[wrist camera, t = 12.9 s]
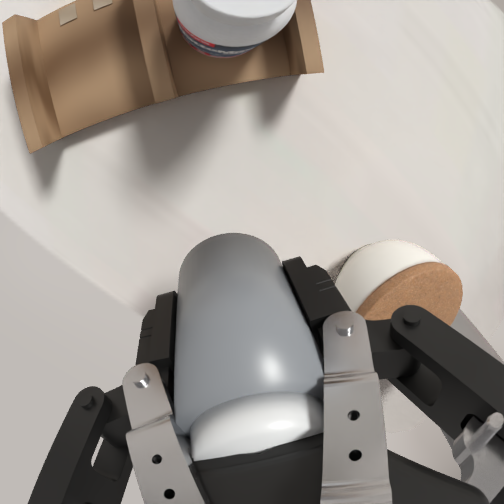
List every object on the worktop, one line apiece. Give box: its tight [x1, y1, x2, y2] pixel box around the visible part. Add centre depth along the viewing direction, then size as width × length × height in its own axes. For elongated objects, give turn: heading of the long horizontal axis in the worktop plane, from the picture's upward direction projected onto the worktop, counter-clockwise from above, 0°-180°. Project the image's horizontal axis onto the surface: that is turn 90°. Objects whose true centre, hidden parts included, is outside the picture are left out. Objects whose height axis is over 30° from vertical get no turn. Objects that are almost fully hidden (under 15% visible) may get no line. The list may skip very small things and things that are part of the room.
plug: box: [174, 233, 324, 461], centre depth 10 cm, size 4×4×8 cm
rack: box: [2, 0, 324, 153], centre depth 13 cm, size 9×17×4 cm, turn 100°
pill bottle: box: [173, 0, 297, 58], centre depth 10 cm, size 5×5×9 cm
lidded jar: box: [335, 240, 463, 326], centre depth 23 cm, size 11×11×9 cm
